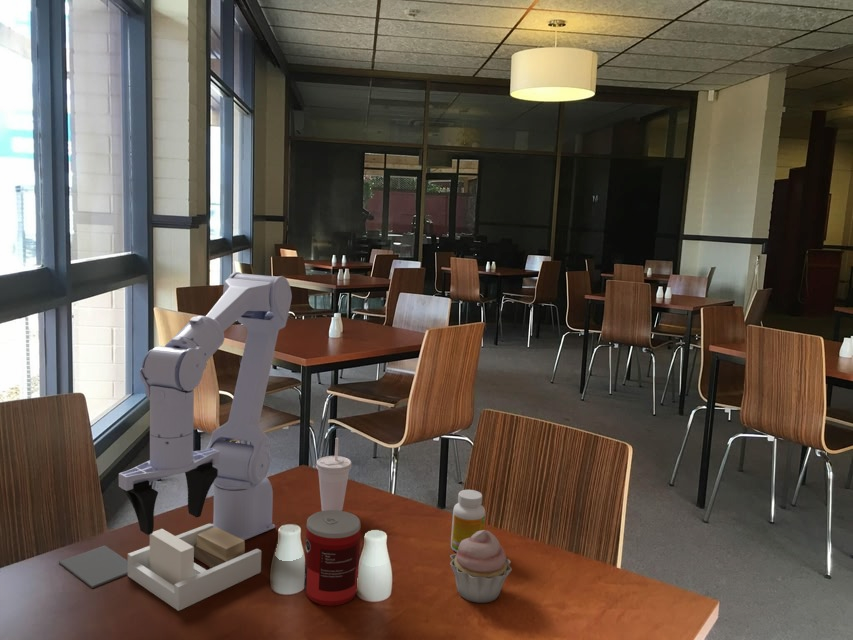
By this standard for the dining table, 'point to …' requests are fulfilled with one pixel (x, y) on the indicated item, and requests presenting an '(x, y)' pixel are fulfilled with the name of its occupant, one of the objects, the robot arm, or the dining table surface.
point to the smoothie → (333, 480)
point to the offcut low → (207, 557)
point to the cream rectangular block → (171, 557)
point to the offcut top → (220, 544)
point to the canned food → (332, 557)
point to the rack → (202, 580)
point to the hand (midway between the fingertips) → (171, 523)
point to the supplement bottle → (467, 517)
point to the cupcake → (480, 567)
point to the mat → (97, 566)
